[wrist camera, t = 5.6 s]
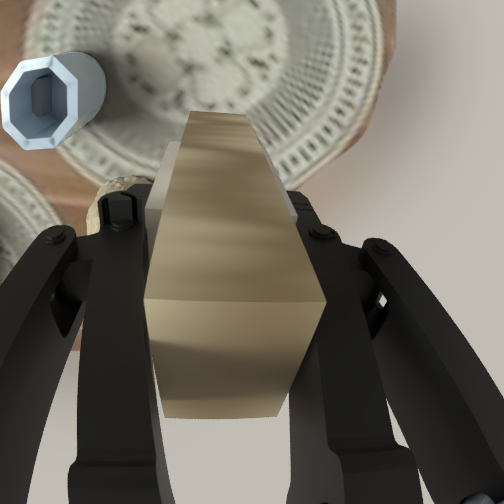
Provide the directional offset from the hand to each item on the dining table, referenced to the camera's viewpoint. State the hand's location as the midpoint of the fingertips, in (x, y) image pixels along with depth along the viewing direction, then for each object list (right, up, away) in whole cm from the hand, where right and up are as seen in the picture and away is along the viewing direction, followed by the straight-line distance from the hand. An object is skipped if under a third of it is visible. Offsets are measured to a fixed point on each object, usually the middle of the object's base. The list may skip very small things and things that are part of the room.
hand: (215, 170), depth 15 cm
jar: (-17, +13, +11) cm, 25 cm away
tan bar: (0, +2, +2) cm, 3 cm away
